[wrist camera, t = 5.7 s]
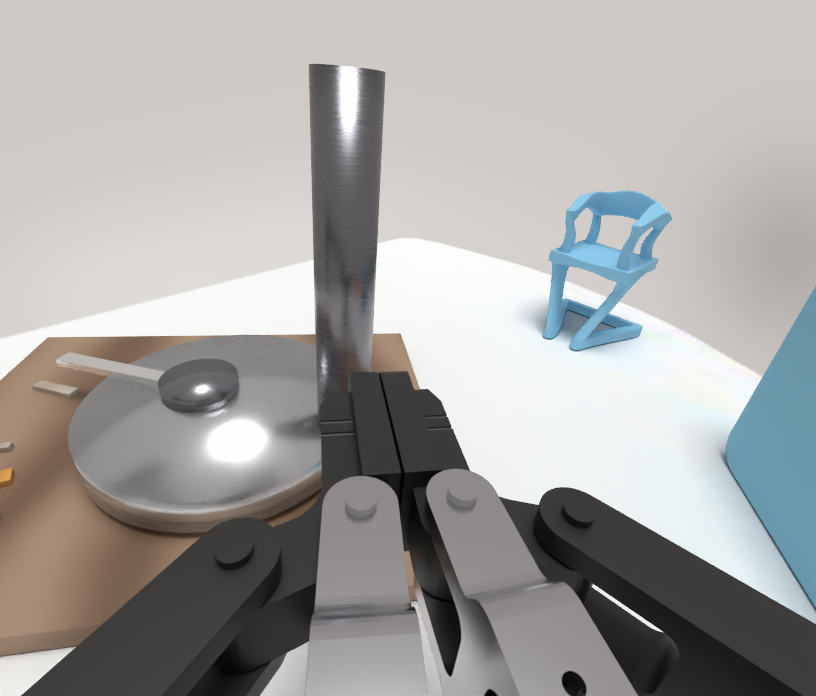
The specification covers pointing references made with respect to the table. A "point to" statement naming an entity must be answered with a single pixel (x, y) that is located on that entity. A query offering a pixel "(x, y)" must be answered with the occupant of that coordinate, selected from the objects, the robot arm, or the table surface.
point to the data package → (784, 448)
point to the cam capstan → (248, 360)
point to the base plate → (86, 500)
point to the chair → (604, 263)
